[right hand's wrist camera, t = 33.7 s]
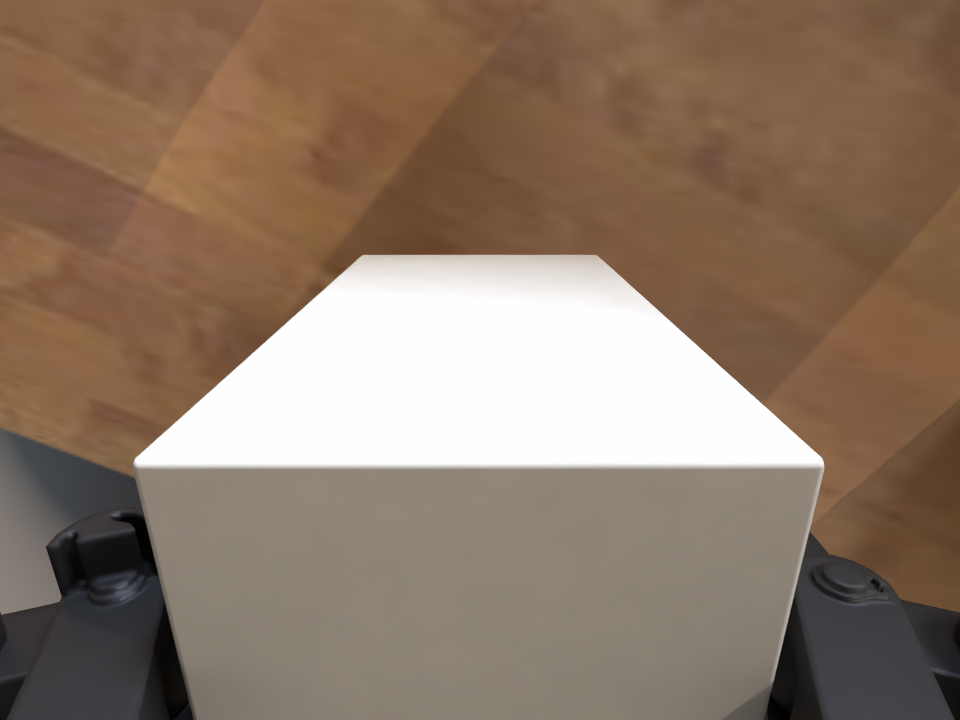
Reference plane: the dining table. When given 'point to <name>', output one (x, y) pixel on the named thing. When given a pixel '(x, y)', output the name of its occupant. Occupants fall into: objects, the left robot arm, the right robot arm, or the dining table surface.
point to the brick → (478, 508)
